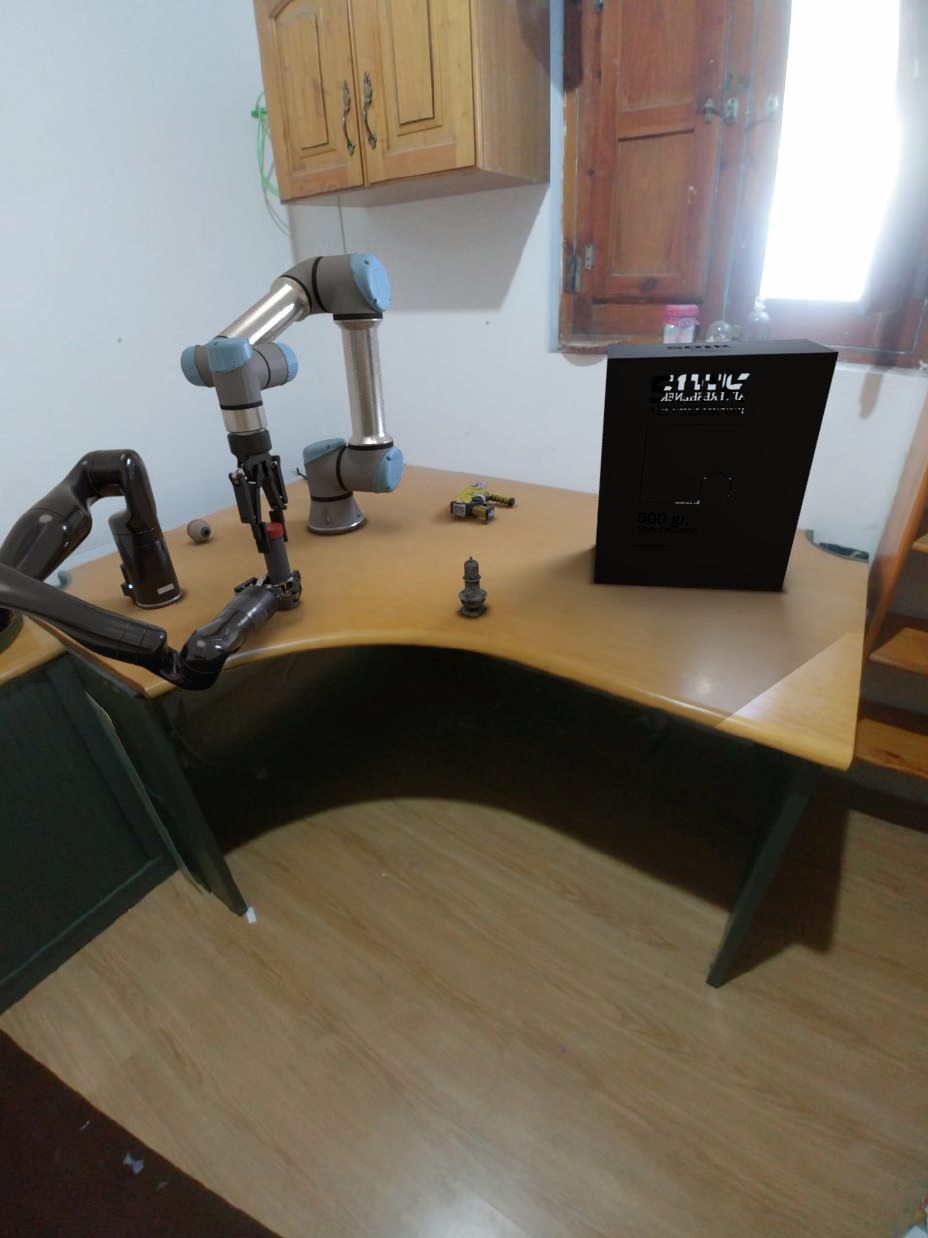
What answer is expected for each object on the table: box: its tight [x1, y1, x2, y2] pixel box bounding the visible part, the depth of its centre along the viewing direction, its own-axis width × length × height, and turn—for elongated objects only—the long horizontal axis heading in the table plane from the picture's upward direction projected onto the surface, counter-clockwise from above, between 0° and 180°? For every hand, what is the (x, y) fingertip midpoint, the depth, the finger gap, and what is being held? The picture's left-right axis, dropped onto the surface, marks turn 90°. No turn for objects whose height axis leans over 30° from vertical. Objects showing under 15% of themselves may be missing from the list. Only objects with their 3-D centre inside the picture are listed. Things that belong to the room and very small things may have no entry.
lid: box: [265, 521, 284, 540], centre depth 121 cm, size 5×5×2 cm
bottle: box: [262, 535, 298, 611], centre depth 125 cm, size 4×4×17 cm
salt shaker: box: [457, 555, 488, 617], centre depth 120 cm, size 6×6×12 cm
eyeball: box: [186, 518, 212, 542], centre depth 162 cm, size 6×6×6 cm
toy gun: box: [449, 480, 516, 522], centre depth 174 cm, size 5×24×15 cm
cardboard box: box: [593, 338, 840, 592], centre depth 124 cm, size 38×20×45 cm, turn 78°
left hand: (286, 573), depth 129 cm, fingers closed on bottle, 4 cm apart
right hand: (273, 546), depth 123 cm, fingers open, 5 cm apart
